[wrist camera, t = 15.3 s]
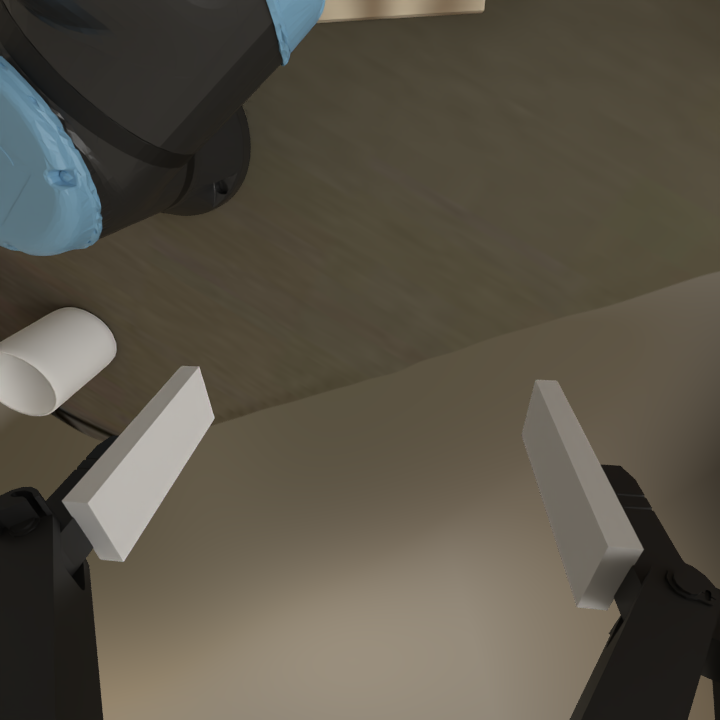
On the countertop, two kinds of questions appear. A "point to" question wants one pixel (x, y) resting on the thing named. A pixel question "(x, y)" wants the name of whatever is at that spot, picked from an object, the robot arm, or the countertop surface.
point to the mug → (53, 360)
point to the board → (395, 9)
